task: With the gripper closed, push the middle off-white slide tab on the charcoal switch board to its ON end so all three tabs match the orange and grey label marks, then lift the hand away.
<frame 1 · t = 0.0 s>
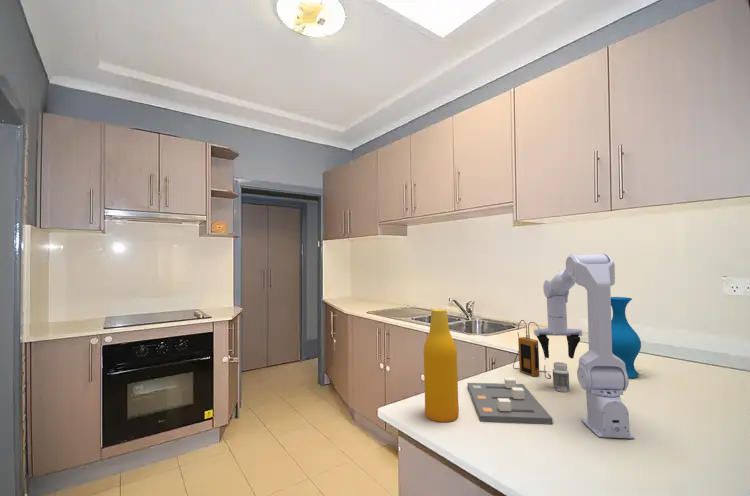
hand: (558, 357, 116), 10 cm above the countertop, tool pointing down, fingers open, 7 cm apart
pill bottle: (561, 390, 114), on the countertop
multimeter: (536, 373, 133), on the countertop
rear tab: (510, 383, 113), point 3 cm above the countertop, slide at 0.0 cm
front tab: (504, 404, 96), point 3 cm above the countertop, slide at 6.0 cm
middle tab: (517, 393, 104), point 3 cm above the countertop, slide at 0.0 cm
switch board: (504, 403, 104), on the countertop
vase: (622, 374, 129), on the countertop
beer bottle: (441, 416, 97), on the countertop
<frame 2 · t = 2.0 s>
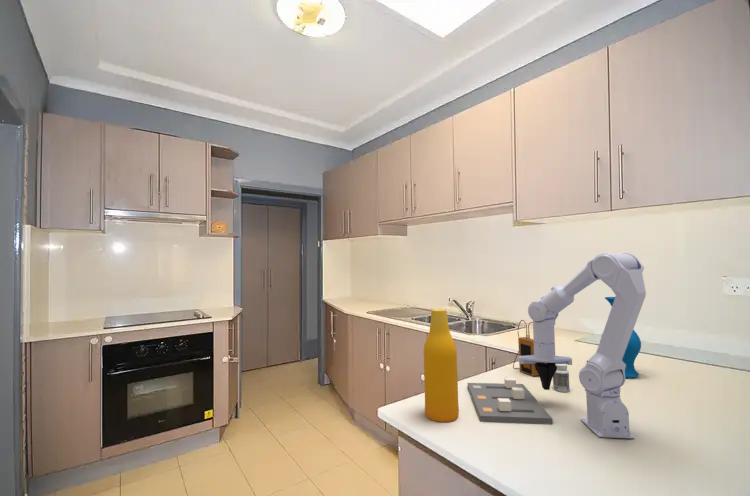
hand: (545, 388, 103), 5 cm above the countertop, tool pointing down, fingers closed
nothing on the countertop moved.
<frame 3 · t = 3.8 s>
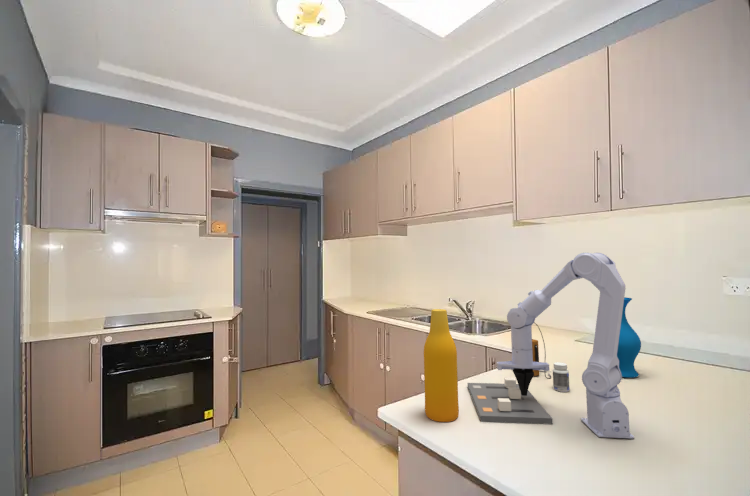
hand: (523, 394, 104), 3 cm above the countertop, tool pointing down, fingers closed
middle tab: (514, 393, 104), point 3 cm above the countertop, slide at 1.0 cm, touching gripper
everything else where it was.
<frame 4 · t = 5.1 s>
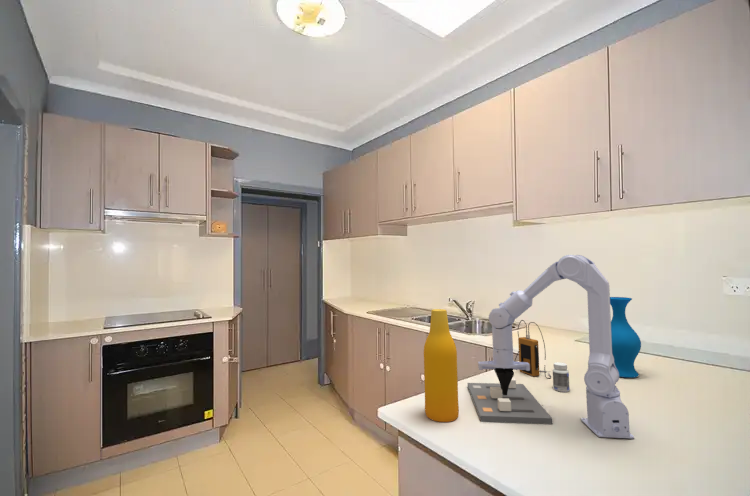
hand: (504, 394, 104), 3 cm above the countertop, tool pointing down, fingers closed
middle tab: (496, 392, 105), point 3 cm above the countertop, slide at 6.3 cm, touching gripper
everything else where it was.
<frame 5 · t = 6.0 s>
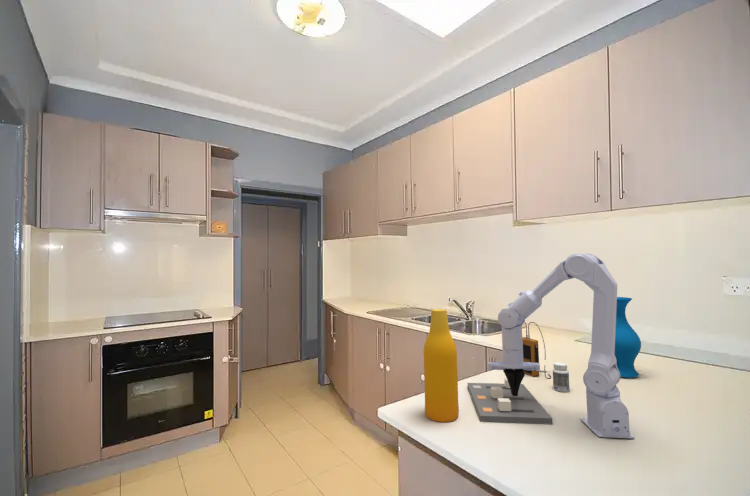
hand: (514, 394, 104), 3 cm above the countertop, tool pointing down, fingers closed
middle tab: (496, 392, 105), point 3 cm above the countertop, slide at 6.1 cm
everything else where it was.
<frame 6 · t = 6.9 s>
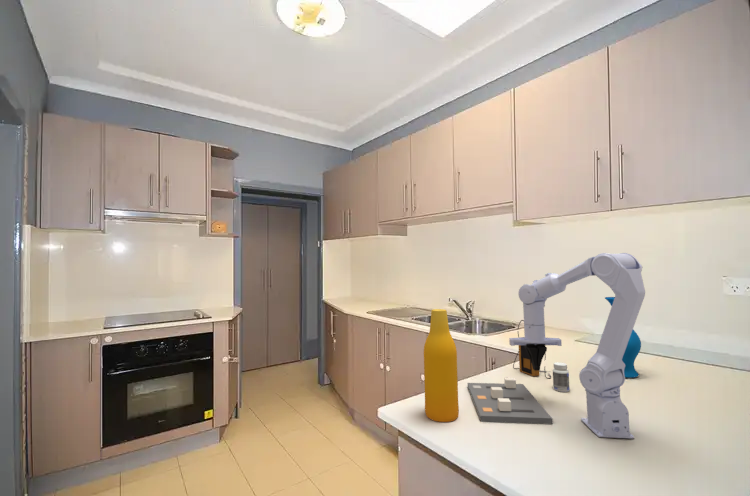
hand: (536, 369, 105), 10 cm above the countertop, tool pointing down, fingers closed
nothing on the countertop moved.
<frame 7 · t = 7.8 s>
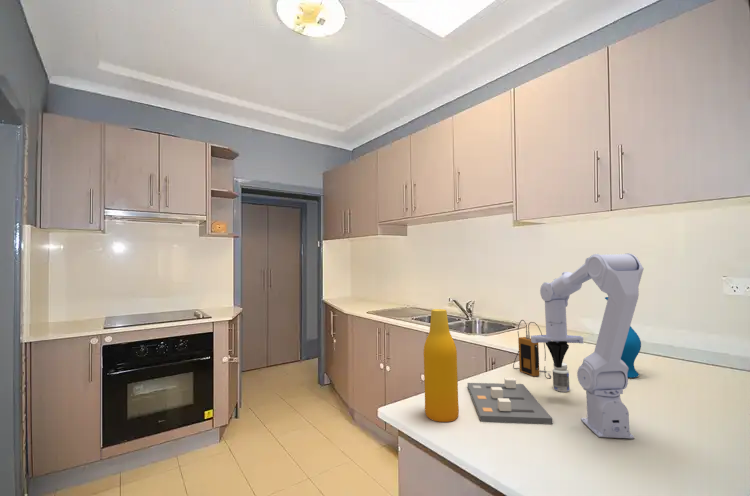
hand: (557, 366, 107), 10 cm above the countertop, tool pointing down, fingers closed
nothing on the countertop moved.
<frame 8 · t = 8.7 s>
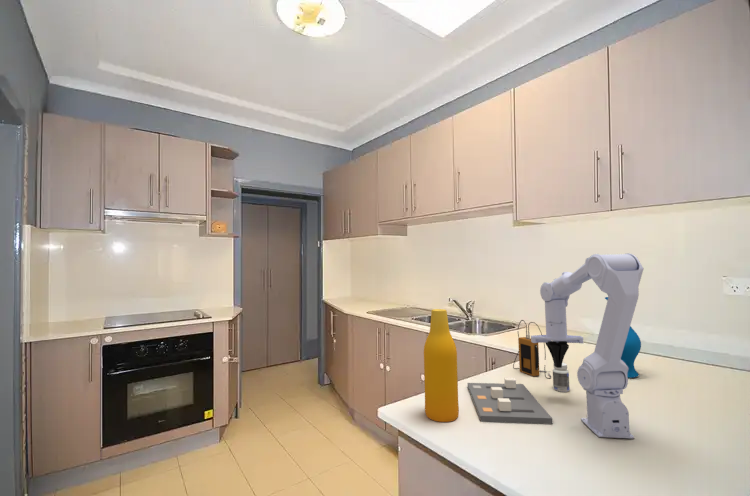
hand: (557, 366, 107), 10 cm above the countertop, tool pointing down, fingers closed
nothing on the countertop moved.
at the end: middle tab slide at 6.1 cm; front tab slide at 6.0 cm; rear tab slide at 0.0 cm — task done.
